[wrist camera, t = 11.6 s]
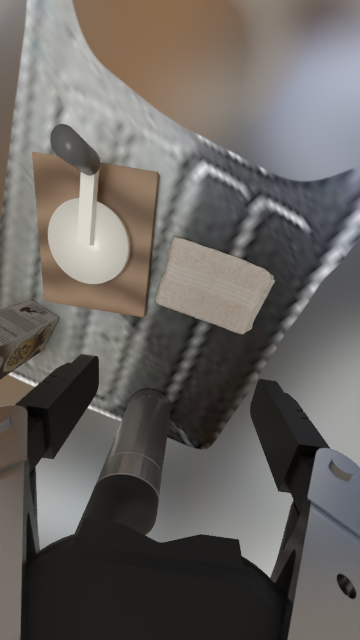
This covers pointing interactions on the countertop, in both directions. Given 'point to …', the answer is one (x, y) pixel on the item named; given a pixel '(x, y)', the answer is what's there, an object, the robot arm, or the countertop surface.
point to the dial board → (130, 205)
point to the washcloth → (213, 286)
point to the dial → (86, 219)
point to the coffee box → (23, 333)
